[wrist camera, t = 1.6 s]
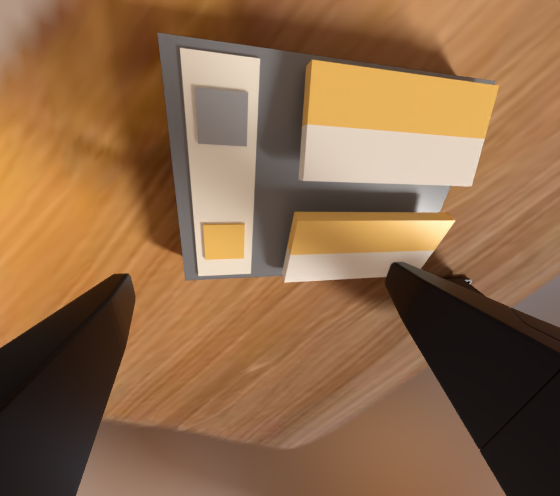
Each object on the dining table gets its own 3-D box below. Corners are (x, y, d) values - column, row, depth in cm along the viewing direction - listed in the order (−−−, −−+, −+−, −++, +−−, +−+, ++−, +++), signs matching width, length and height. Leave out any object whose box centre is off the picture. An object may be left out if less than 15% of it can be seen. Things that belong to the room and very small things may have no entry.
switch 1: (459, 184, 19) (471, 186, 18) (298, 179, 16) (303, 180, 15) (483, 89, 17) (499, 85, 16) (306, 65, 14) (312, 59, 13)
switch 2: (410, 266, 24) (416, 275, 23) (281, 272, 21) (284, 282, 21) (446, 212, 20) (455, 220, 19) (294, 211, 17) (297, 220, 17)
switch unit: (396, 252, 27) (419, 273, 24) (188, 259, 23) (184, 286, 20) (459, 82, 20) (505, 81, 17) (167, 41, 15) (154, 29, 12)
